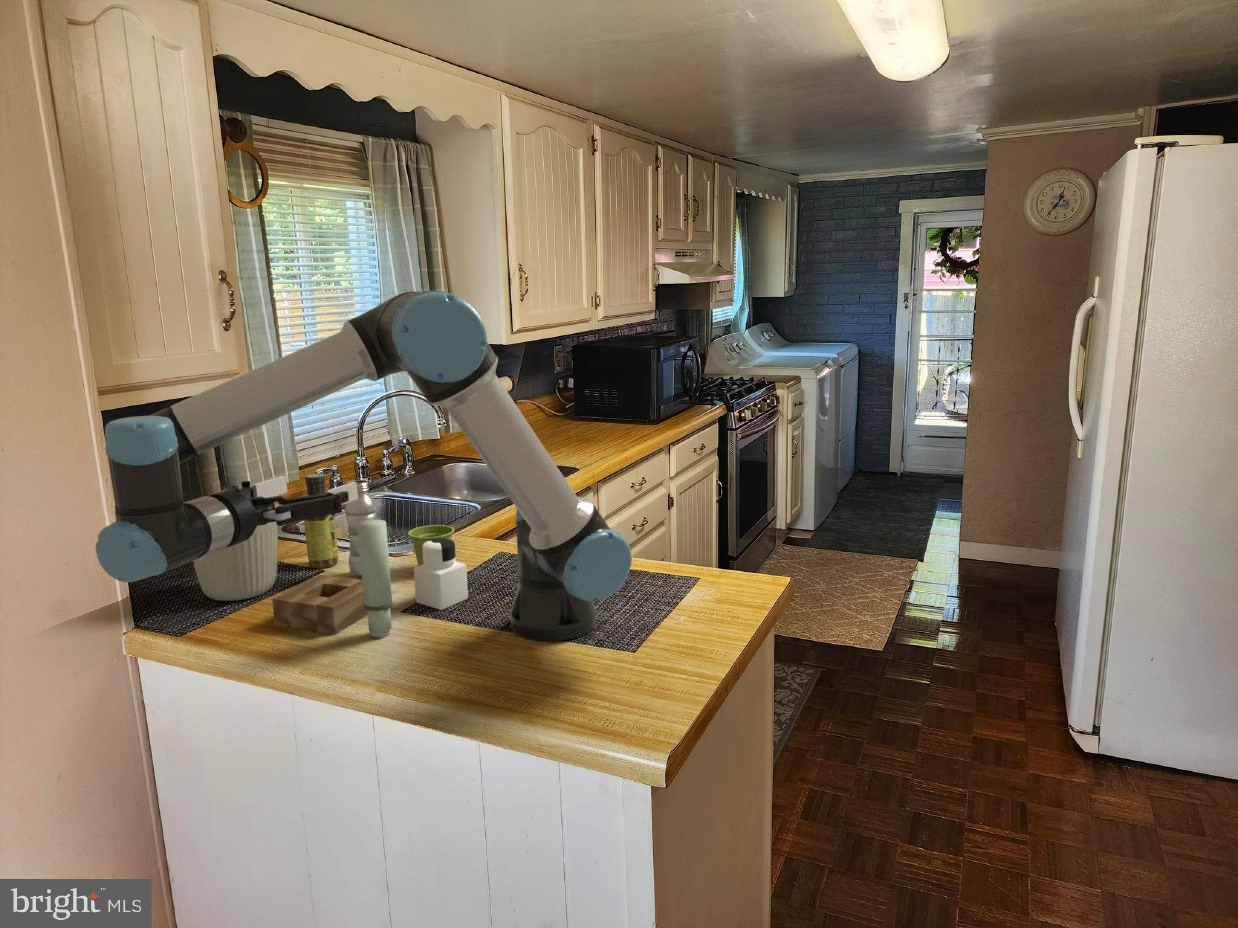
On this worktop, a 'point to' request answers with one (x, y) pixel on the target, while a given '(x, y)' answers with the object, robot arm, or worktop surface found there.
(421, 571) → the medicine bottle
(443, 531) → the plant pot
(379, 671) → the worktop surface
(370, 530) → the stool leg
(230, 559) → the canister
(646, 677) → the worktop surface
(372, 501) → the plastic bottle
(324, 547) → the sauce bottle
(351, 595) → the wooden holder block
